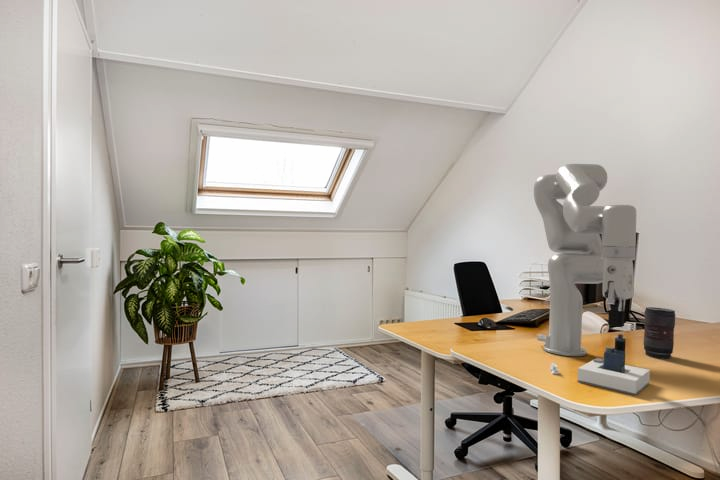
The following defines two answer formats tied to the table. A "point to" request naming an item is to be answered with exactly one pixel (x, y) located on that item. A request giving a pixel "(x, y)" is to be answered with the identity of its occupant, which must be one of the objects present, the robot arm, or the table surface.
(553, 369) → the power adapter
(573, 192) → the robot arm
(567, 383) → the table surface
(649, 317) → the camera lens
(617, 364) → the vaping device
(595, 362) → the socket block
